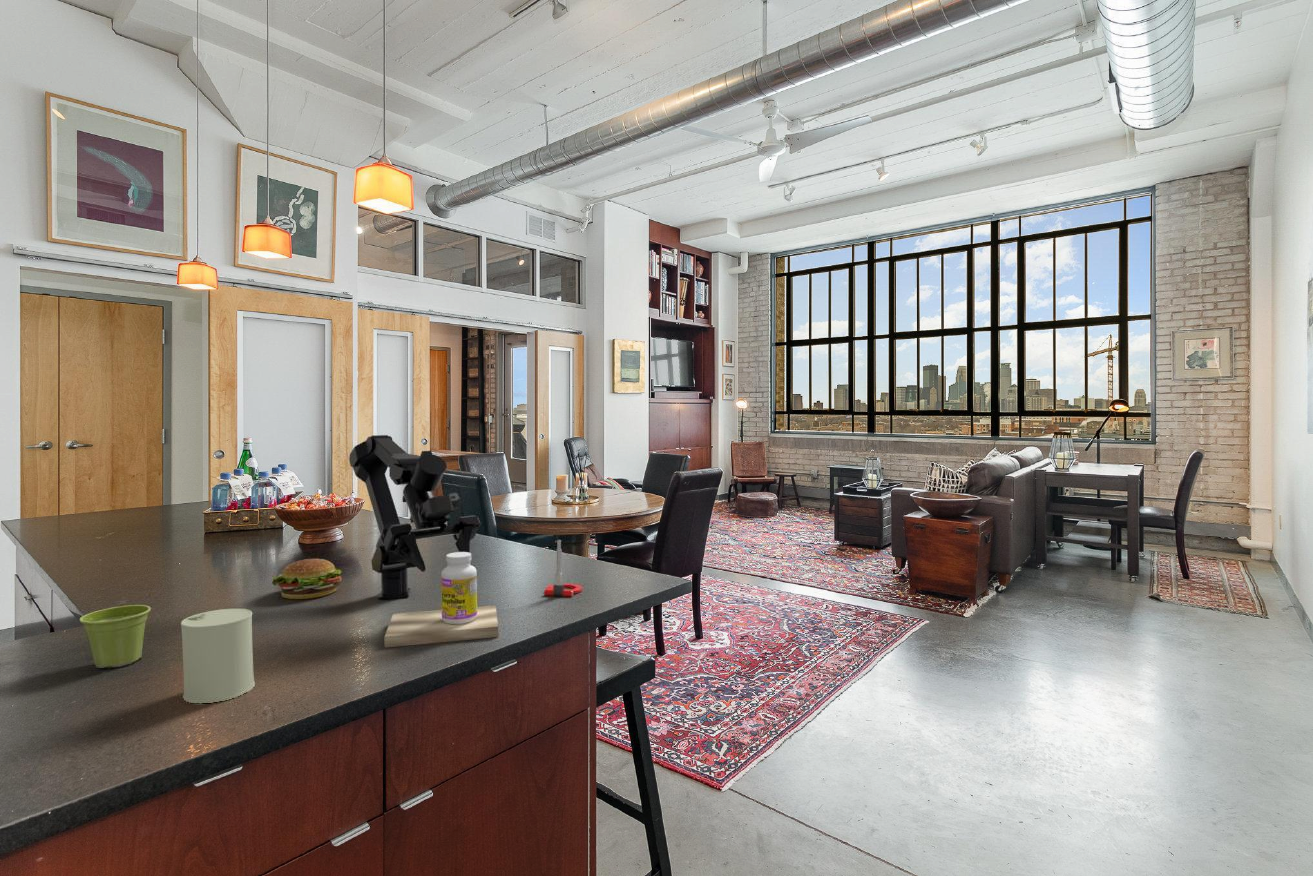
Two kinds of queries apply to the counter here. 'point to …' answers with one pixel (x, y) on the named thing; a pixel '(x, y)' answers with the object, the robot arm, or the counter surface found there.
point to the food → (308, 579)
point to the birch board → (439, 628)
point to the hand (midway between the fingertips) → (446, 566)
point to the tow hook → (559, 587)
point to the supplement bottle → (459, 589)
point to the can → (217, 655)
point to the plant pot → (116, 633)
